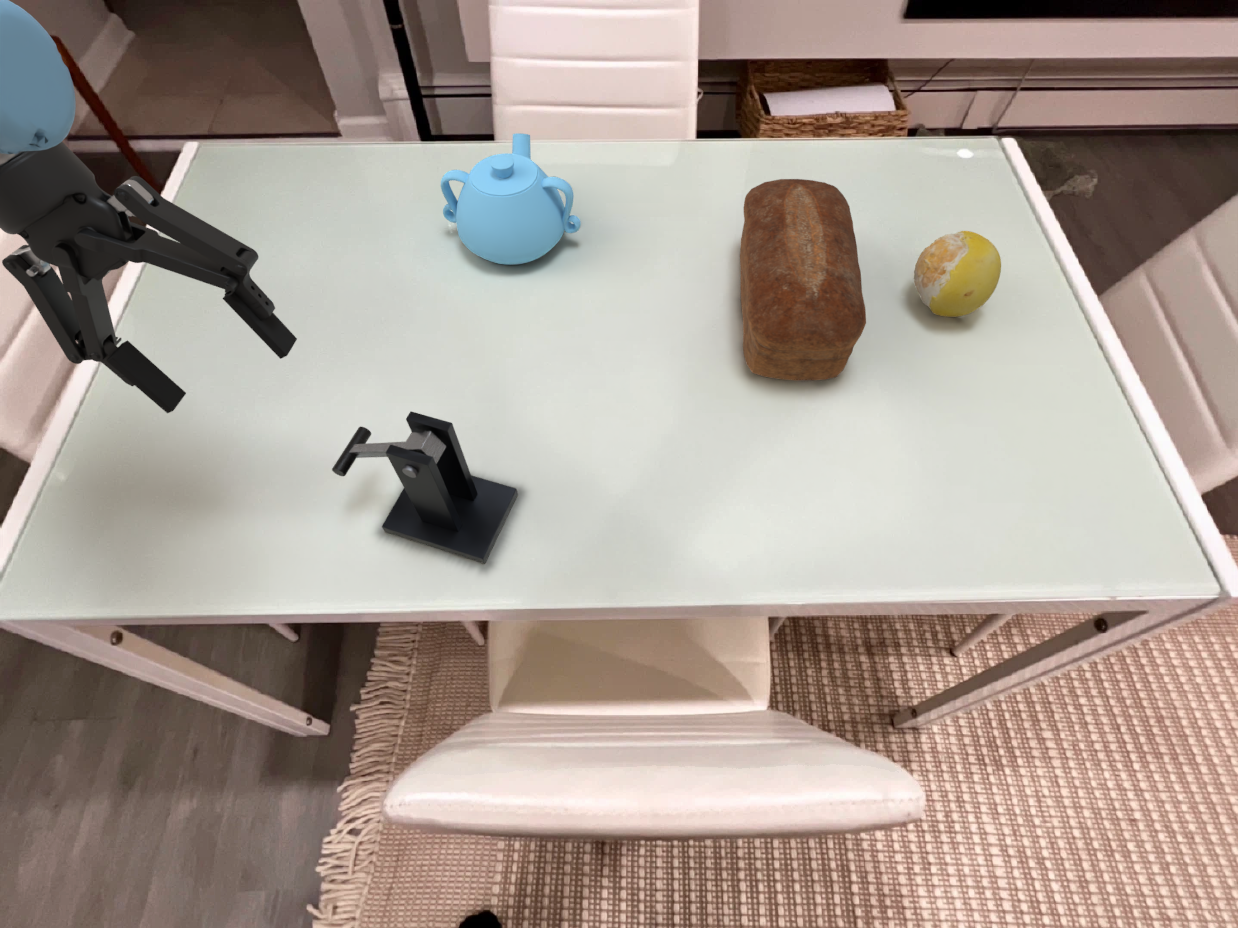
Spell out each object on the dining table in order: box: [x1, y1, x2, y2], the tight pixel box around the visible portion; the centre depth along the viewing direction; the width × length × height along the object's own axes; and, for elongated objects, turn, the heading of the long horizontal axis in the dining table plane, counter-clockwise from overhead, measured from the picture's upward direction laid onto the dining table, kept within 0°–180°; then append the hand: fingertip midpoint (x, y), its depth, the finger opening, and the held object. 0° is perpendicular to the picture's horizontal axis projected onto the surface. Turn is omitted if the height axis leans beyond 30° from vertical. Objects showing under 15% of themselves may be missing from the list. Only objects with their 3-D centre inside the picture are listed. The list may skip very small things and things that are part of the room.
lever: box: [331, 426, 446, 477], centre depth 70 cm, size 13×6×2 cm, turn 71°
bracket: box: [381, 411, 519, 564], centre depth 72 cm, size 12×9×15 cm
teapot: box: [440, 132, 582, 266], centre depth 98 cm, size 20×20×13 cm
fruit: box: [913, 230, 1002, 318], centre depth 90 cm, size 10×11×10 cm
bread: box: [739, 178, 867, 382], centre depth 89 cm, size 14×28×12 cm, turn 176°
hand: (231, 377), depth 64 cm, fingers open, 13 cm apart
